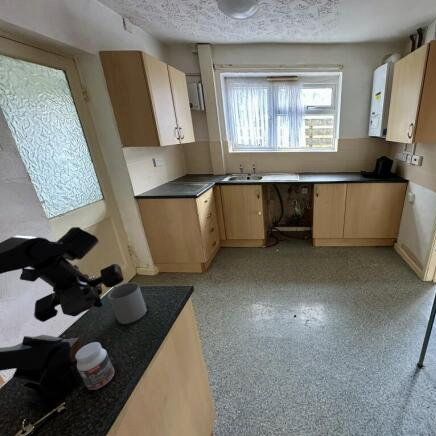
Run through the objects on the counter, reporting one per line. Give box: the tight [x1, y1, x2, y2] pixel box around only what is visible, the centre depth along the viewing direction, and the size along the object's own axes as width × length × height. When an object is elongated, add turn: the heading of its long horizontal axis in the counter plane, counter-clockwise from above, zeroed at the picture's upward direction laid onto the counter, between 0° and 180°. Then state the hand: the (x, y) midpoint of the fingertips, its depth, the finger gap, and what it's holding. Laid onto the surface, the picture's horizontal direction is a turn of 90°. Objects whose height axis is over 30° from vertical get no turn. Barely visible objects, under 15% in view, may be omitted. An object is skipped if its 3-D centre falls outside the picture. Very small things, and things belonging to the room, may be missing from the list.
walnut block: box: [62, 337, 84, 364], centre depth 65 cm, size 4×4×4 cm
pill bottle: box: [75, 341, 115, 391], centre depth 58 cm, size 6×6×10 cm
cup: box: [107, 281, 148, 325], centre depth 79 cm, size 8×8×10 cm
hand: (101, 305), depth 68 cm, fingers closed
